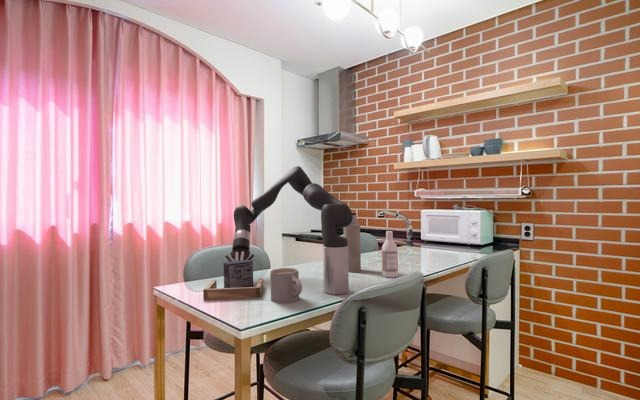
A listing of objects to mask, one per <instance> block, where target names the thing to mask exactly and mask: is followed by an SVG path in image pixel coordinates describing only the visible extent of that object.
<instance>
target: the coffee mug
mask: <svg viewBox="0 0 640 400" xmlns="http://www.w3.org/2000/svg"><path fill="white" fill-rule="evenodd" d="M299 273H300V272H299V269H298V268H292V267H279V268H275V269H271V270H270V272H269V274H270V301H271V302H273V303H276V304H287V303H293V302H296V301H298V300H299V299H300V295H301V293H302V290H303V285H302V281H301V279H300V278H299V276H300V275H299Z"/></svg>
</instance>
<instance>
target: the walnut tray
mask: <svg viewBox="0 0 640 400" xmlns="http://www.w3.org/2000/svg"><path fill="white" fill-rule="evenodd" d="M217 283H218V282H217V279H212V280H211V281H210V282H209V284H207V285H206V286H205V288H204V289H203V290H202V291H203V295H202V296H203V297H202V298H203V301H207V300H208V301H209V300H211V301H212V300H229V299H233V300H235V299H252V298H255V299H256V298H261V295H262V292H263V289H264V277H260V278H258V281H257V284H256V286H253V287H240V288H224V287H219V288H217Z"/></svg>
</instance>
